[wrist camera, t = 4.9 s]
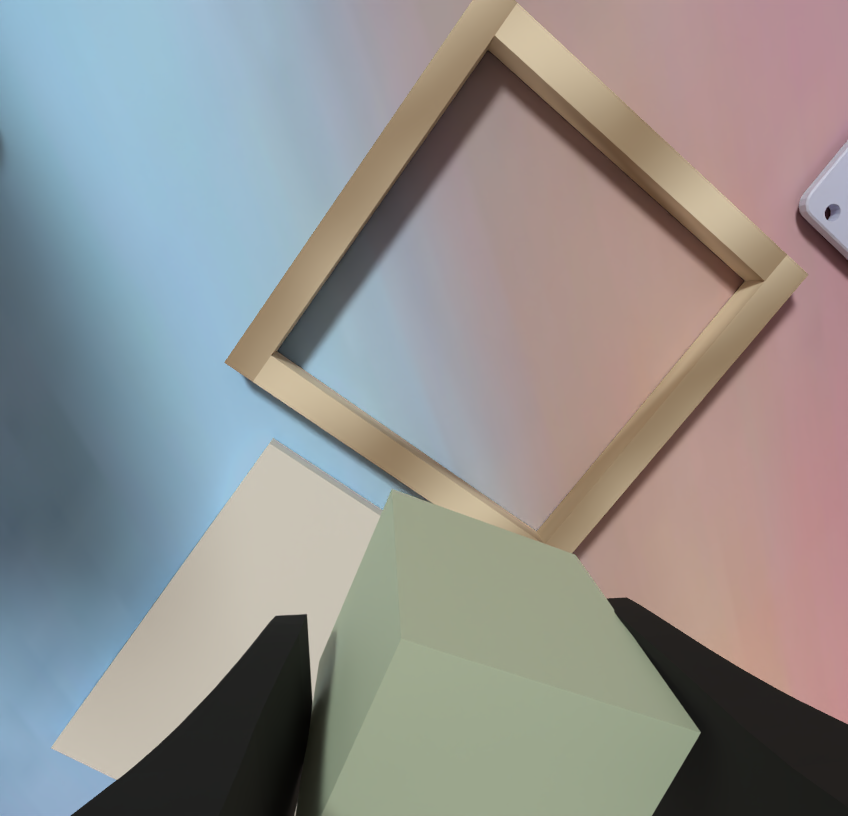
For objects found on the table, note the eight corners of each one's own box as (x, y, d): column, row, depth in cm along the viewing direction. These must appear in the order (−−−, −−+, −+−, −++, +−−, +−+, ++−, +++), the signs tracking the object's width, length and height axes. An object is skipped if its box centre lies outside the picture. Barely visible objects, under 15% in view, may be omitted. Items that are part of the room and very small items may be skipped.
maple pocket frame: (785, 274, 19) (808, 274, 18) (540, 566, 20) (548, 581, 19) (482, -6, 16) (488, -24, 15) (232, 357, 18) (224, 362, 17)
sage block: (575, 554, 12) (700, 732, 8) (495, 713, 13) (562, 966, 8) (392, 488, 12) (401, 638, 7) (319, 660, 13) (281, 903, 8)
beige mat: (584, 643, 21) (590, 653, 21) (370, 887, 23) (370, 902, 23) (273, 438, 19) (269, 443, 18) (60, 734, 21) (50, 748, 20)
